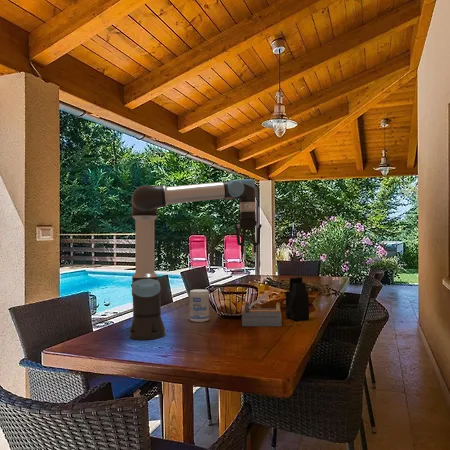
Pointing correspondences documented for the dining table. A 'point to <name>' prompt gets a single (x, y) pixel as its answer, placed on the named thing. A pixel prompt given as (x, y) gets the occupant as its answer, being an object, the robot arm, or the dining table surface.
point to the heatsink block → (262, 316)
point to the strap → (260, 298)
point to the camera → (297, 300)
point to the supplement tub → (199, 305)
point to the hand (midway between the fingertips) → (248, 259)
